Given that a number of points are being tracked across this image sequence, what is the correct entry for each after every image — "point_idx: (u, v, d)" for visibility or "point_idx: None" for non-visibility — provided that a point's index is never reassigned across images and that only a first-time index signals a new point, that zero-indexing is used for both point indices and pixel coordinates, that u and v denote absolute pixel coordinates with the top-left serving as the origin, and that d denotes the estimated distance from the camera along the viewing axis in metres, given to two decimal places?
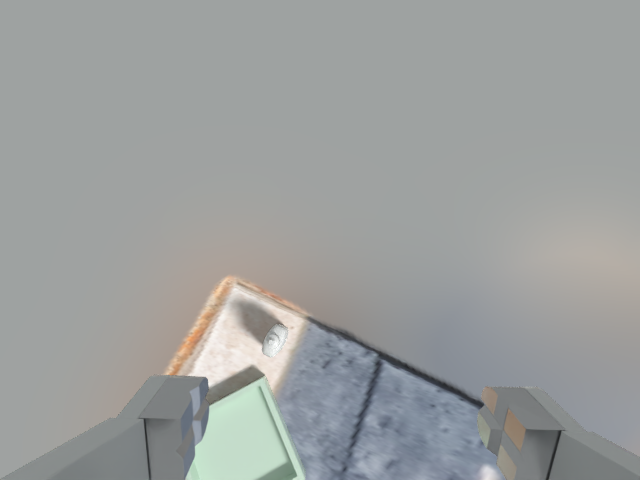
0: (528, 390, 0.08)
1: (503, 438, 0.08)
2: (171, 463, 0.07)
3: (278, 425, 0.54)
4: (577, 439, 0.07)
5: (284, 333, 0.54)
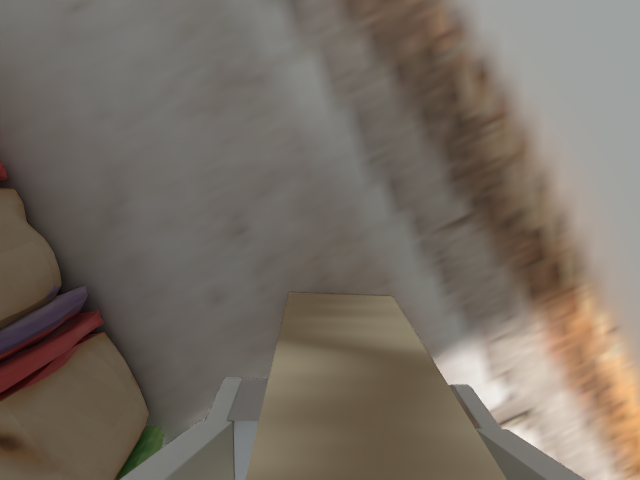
0: (456, 388, 0.08)
1: None
2: None
3: None
4: (489, 437, 0.07)
5: None
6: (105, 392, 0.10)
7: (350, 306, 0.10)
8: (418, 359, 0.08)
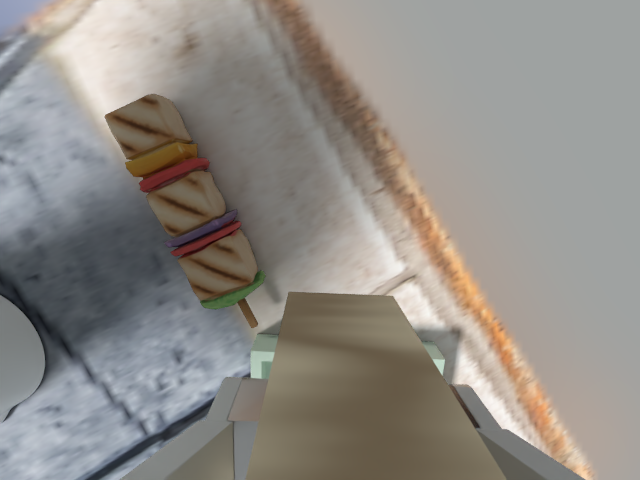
0: (456, 388, 0.08)
1: None
2: None
3: None
4: (489, 437, 0.07)
5: None
6: (246, 249, 0.27)
7: (350, 306, 0.10)
8: (418, 358, 0.08)
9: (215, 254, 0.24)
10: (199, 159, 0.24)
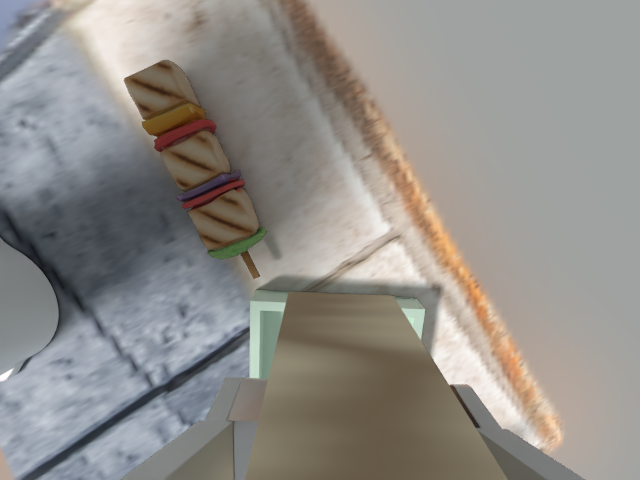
0: (456, 388, 0.08)
1: None
2: None
3: None
4: (489, 437, 0.07)
5: None
6: (249, 206, 0.30)
7: (350, 305, 0.10)
8: (418, 358, 0.08)
9: (222, 206, 0.27)
10: (208, 120, 0.27)
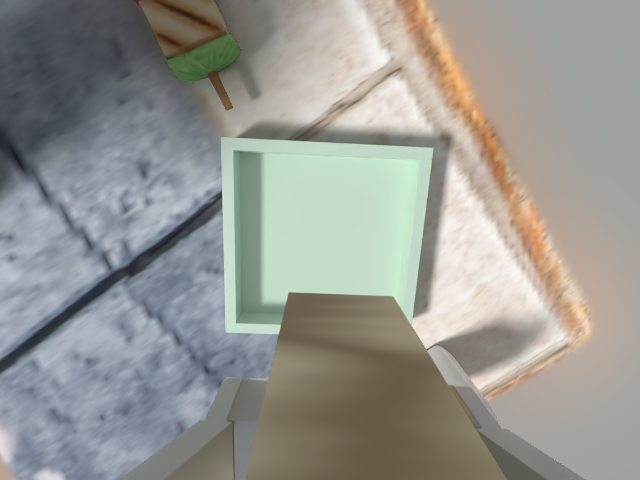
0: (456, 388, 0.08)
1: None
2: None
3: None
4: (489, 437, 0.07)
5: None
6: None
7: (350, 306, 0.10)
8: (418, 359, 0.08)
9: None
10: None
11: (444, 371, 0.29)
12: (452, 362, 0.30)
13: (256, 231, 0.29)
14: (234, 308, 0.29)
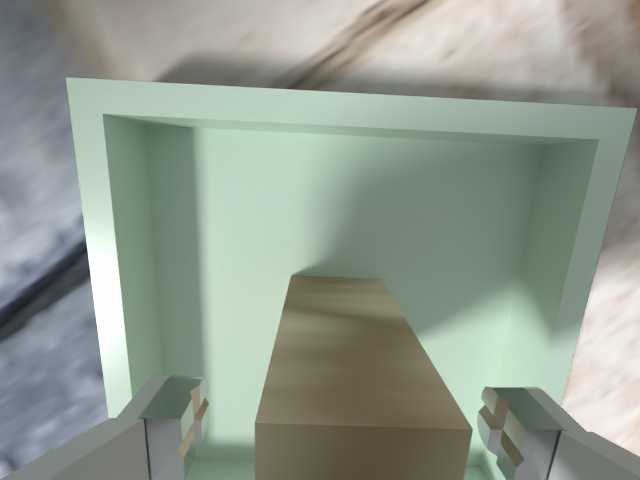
0: (528, 390, 0.08)
1: (503, 438, 0.08)
2: (171, 463, 0.07)
3: None
4: (577, 440, 0.07)
5: None
6: None
7: (343, 286, 0.12)
8: (396, 322, 0.09)
9: None
10: None
11: None
12: None
13: (192, 302, 0.13)
14: None
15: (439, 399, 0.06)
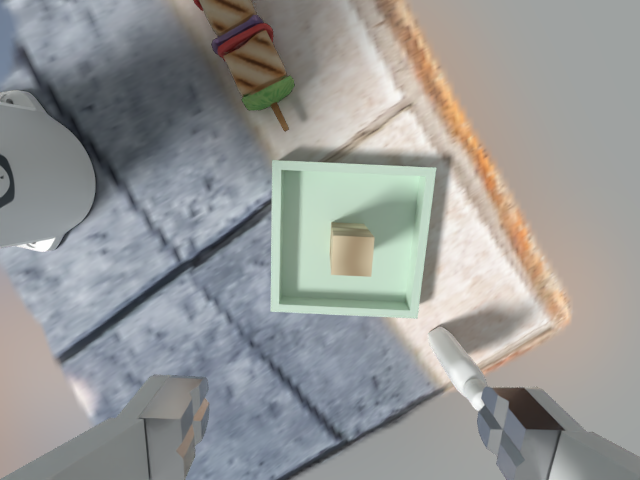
0: (528, 390, 0.08)
1: (503, 438, 0.08)
2: (171, 463, 0.07)
3: (348, 309, 0.37)
4: (577, 439, 0.07)
5: None
6: None
7: (350, 224, 0.36)
8: (365, 229, 0.33)
9: (255, 47, 0.29)
10: None
11: (445, 345, 0.36)
12: (452, 338, 0.37)
13: (295, 232, 0.37)
14: (278, 292, 0.36)
15: (370, 235, 0.30)
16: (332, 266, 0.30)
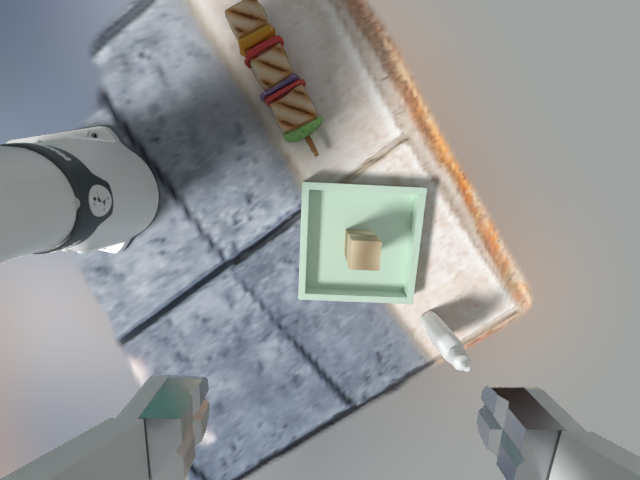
0: (528, 390, 0.08)
1: (503, 438, 0.08)
2: (171, 463, 0.07)
3: (359, 297, 0.47)
4: (577, 439, 0.07)
5: (452, 363, 0.45)
6: None
7: (360, 230, 0.46)
8: (373, 235, 0.43)
9: (294, 97, 0.39)
10: (280, 37, 0.39)
11: (434, 324, 0.47)
12: (439, 319, 0.48)
13: (317, 236, 0.47)
14: (304, 284, 0.46)
15: (378, 240, 0.40)
16: (350, 263, 0.40)
